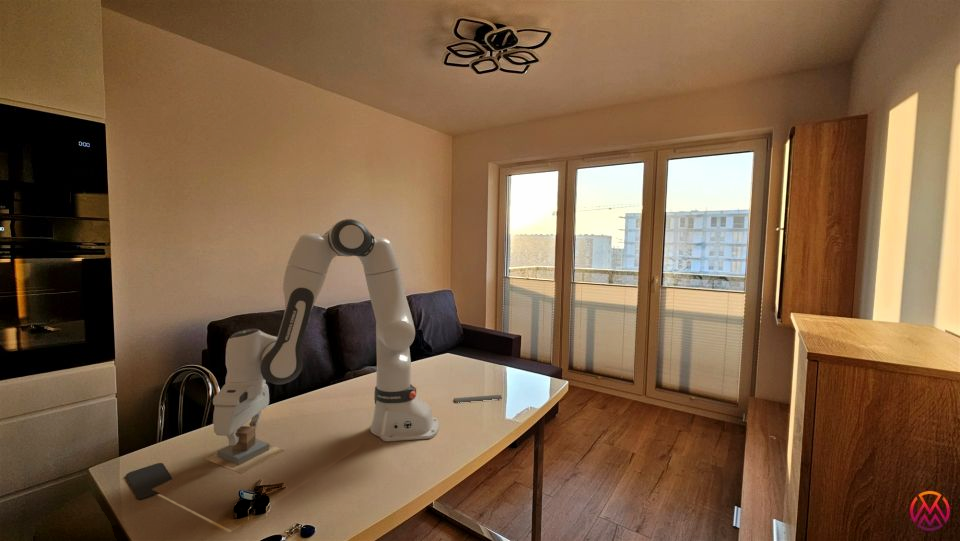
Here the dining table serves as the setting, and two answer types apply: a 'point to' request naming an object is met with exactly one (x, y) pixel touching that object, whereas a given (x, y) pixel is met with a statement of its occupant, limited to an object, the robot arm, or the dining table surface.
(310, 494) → the dining table surface
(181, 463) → the dining table surface
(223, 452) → the slate tile
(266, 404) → the robot arm
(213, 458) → the cork board
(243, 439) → the walnut block
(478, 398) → the grey toothed bar
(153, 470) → the phone
